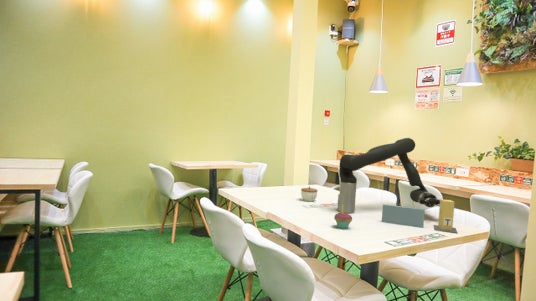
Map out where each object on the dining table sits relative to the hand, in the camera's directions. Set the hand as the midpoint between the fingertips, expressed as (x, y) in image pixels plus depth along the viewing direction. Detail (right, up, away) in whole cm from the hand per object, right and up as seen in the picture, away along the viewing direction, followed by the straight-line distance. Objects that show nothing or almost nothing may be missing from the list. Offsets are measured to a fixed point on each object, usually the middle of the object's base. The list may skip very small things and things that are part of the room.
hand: (437, 204), depth 185 cm
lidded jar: (-63, -5, +47) cm, 79 cm away
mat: (-1, -11, -10) cm, 15 cm away
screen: (-20, -10, -4) cm, 23 cm away
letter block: (-1, -10, -10) cm, 14 cm away
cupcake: (-54, -8, -17) cm, 57 cm away
